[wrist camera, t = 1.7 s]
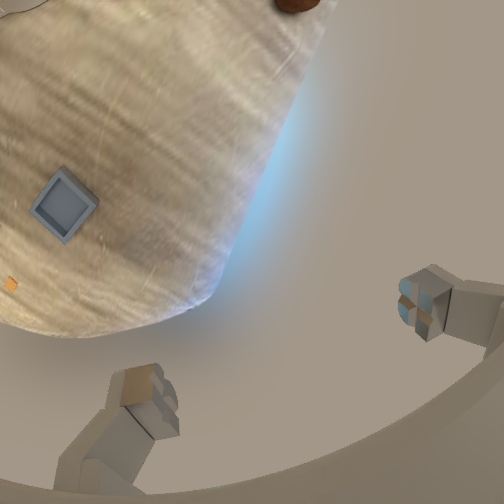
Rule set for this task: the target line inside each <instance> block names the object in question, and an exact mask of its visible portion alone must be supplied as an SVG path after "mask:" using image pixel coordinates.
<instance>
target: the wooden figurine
mask: <svg viewBox="0 0 504 504" xmlns="http://www.w3.org/2000/svg"><path fill="white" fill-rule="evenodd" d="M276 2H277V5H278V6H279V7H280V8H281V9H283V10H285V11H288V12H293V13H294V12H305V11H308V10H310V9H312V8H314V7H315V6H317V5H318V3H319V2H320V0H276Z"/></svg>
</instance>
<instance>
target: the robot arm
mask: <svg viewBox="0 0 504 504" xmlns="http://www.w3.org/2000/svg"><path fill="white" fill-rule="evenodd" d="M45 1H46V0H0V18H1V17H3V16H5V15H7V14H9V13H16V12H22V11H26V10H29V9H31V8H34V7H36V6H38V5H40V4H42V3H43V2H45ZM399 291H400V293H401V294H402V295H401V297H400V299H399V301H398V311H399V314H400V317H401V318H402V320H403V321H404V322H405V323H406V324H407V325H410V326H414V327H415V332H416V333H417V334H418V335H419V336H420V337H421V338H422V339H423V340H425V341H426V342H428V341H430V340H432V339H433V338H435V337H437V336H438V335H440V334H442V333H443V332H444V334H447V335H450V336H453V337H456V338H459V339H462V340H465V341H468V342H471V343H474V344H477V345H480V346H483V347H486V351H485V354H484V356H483V361H482V362H481V363H479V364H478V365H477V366H476V367H475V368H473V369H472V370H471V371H470V372H468V373H467V374H466V375H465V376H463V377H462V378H461V379H459V380H458V381H457V382H455V383H454V384H453V385H452V386H450V387H449V388H447V389H446V390H445V391H443V392H442V393H440V394H439V395H437V396H436V397H435V398H433V399H432V400H430V401H429V402H427V403H426V404H424V405H422V406H421V407H419V408H418V409H416V410H415V411H413V412H411V413H410V414H408V415H407V416H405V417H403V418H401V419H399V420H398V421H396V422H394V423H393V424H391V425H389V426H387V427H385V428H383V429H381V430H380V431H378V432H376V433H374V434H372V435H370V436H368V437H366V438H364V439H362V440H360V441H358V442H355V443H353V444H351V445H349V446H347V447H344V448H342V449H340V450H337V451H335V452H333V453H330V454H328V455H325V456H323V457H320V458H318V459H315V460H313V461H310V462H307V463H304V464H301V465H298V466H296V467H293V468H289V469H286V470H283V471H280V472H277V473H273V474H270V475H266V476H262V477H259V478H255V479H251V480H247V481H243V482H238V483H234V484H229V485H224V486H219V487H213V488H207V489H201V490H194V491H186V492H178V493H169V494H168V493H167V494H153V495H146V494H145V493H144V492H143V491H141V490H140V489H138V488H137V487H135V486H133V485H132V484H133V482H134V480H135V478H136V477H137V475H138V473H139V471H140V469H141V467H142V465H143V464H144V462H145V460H146V458H147V456H148V454H149V452H150V450H151V449H152V447H153V445H154V443H155V440H161V439H166V438H171V437H176V436H179V435H180V434H179V419H178V417H177V416H176V415H175V412H176V411H177V409H178V400H177V396H176V392H175V390H174V388H173V386H172V384H171V382H170V381H169V380H166V379H164V371H163V370H162V368H161V366H160V365H159V364H158V363H153V364H148V365H144V366H138V367H133V368H129V369H124V370H119V371H115V372H114V373H113V374H112V376H111V381H110V386H109V390H108V394H107V399H106V404H105V409H102V410H100V411H99V412H98V413H97V414H96V416H95V417H94V418H93V419H92V420H91V421H90V422H89V424H88V425H87V426H86V427H85V428H84V429H83V430H82V431H81V433H80V434H79V435H78V436H77V437H76V438H75V440H74V441H73V442H72V443H71V444H70V445H69V446H68V447H67V449H66V450H65V451H64V452H63V453H62V454H61V456H60V457H59V460H58V465H57V470H56V476H55V481H54V488H53V490H49V489H43V488H38V487H33V486H28V485H24V484H19V483H15V482H11V481H8V480H4V479H0V504H504V285H501V284H493V283H486V282H479V281H471V280H465V281H463V280H461V279H459V278H458V277H456V276H454V275H453V274H451V273H449V272H447V271H446V270H444V269H442V268H440V267H439V266H437V265H433V264H431V265H429V266H427V267H426V268H423V269H422V270H420V271H418V272H416V273H414V274H412V275H410V276H408V277H405V278H403V279H401V280H400V283H399Z"/></svg>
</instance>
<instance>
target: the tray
mask: <svg viewBox="0 0 504 504" xmlns="http://www.w3.org/2000/svg"><path fill="white" fill-rule="evenodd" d="M98 202H99V199H98V198H97V197H96V196H94V195H93V194H92V193H91V192H90V191H89V190H88V189H87V188H86V187H85V186H84V185H83V184H82V183H81V182H80V181H79V180H78V179H77V178H76V177H75V176H74V175H73V174H72V173H71V172H70V171H69V170H68V169H67V168H66V167H65V166H63V167H61V168H60V169H58V171H57V172H56V173H55V175H54V176H53V177H52V178H51V180H50V181H49V182H48V184H47V185H46V186H45V188H44V189H43V190H42V192H41V193H40V195H39V196H38V197H37V199H36V200H35V202H34V203H33V205H32V206H31V208H30V209H29V212H30V213H31V214H32V215H33V216H34V217H35V218H36V219H37V220H38V221H39V222H40V223H41V224H42V225H44V226H45V227H46V228H47V229H48V230H49V231H50V232H51V233H52V234H53V235H54V236H56V237H57V238H58V239H59V240H60V241H61V242H62V243H63V244H66V243H67V242H68V240H69V239H70V238H71V236H72V235H73V234H74V233H75V231H76V230H77V229H78V228H79V226H80V225H81V224H82V223H83V221H84V220H85V219H86V218H87V217H88V215H89V214H90V213H91V212H92V211H93V210H94V208H95V207H96V206H97V204H98Z"/></svg>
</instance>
